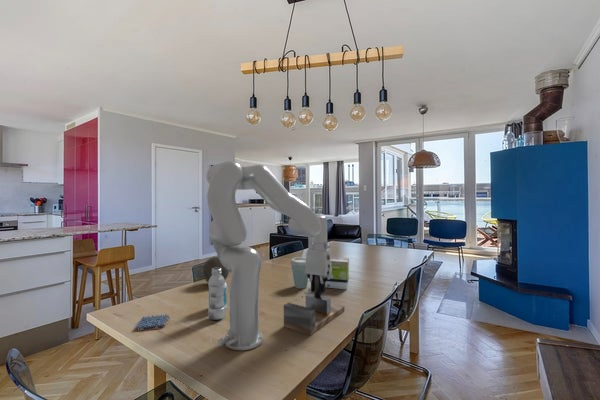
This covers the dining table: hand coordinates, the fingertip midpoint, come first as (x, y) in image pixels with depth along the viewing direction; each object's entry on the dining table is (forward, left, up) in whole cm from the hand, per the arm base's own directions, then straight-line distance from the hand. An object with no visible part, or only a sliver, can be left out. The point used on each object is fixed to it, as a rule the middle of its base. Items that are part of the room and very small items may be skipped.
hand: (317, 291), depth 114 cm
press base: (-2, 0, -10) cm, 10 cm away
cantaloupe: (+4, +69, -10) cm, 70 cm away
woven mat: (-42, +48, -11) cm, 64 cm away
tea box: (+39, +14, -11) cm, 43 cm away
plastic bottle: (-25, +32, -10) cm, 42 cm away
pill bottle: (-18, +40, -10) cm, 45 cm away
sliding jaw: (0, 0, -8) cm, 8 cm away
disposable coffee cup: (+27, +28, -10) cm, 41 cm away
